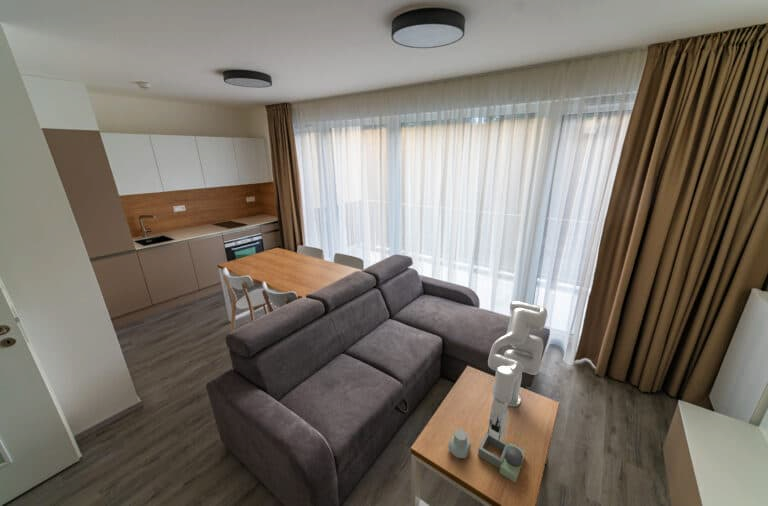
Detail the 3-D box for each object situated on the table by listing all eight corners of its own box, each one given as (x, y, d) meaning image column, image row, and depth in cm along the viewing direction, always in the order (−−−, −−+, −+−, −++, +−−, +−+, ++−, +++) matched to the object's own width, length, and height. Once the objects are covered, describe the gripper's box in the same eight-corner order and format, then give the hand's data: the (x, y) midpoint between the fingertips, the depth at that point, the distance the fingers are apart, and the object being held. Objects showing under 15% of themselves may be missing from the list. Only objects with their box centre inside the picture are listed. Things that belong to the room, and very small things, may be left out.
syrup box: (504, 434, 131) (509, 409, 126) (499, 442, 127) (503, 417, 122) (492, 426, 135) (496, 402, 130) (486, 434, 131) (490, 410, 126)
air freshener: (455, 436, 143) (457, 421, 140) (472, 446, 138) (473, 431, 135) (446, 454, 135) (447, 438, 131) (462, 465, 130) (464, 449, 127)
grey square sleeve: (487, 436, 143) (488, 425, 141) (524, 457, 133) (526, 446, 130) (476, 458, 133) (477, 447, 130) (515, 483, 122) (518, 471, 120)
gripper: (500, 377, 132) (495, 408, 137) (486, 401, 119) (482, 434, 125) (517, 385, 127) (511, 416, 133) (505, 411, 114) (499, 444, 120)
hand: (497, 424), depth 129 cm, fingers closed on syrup box, 6 cm apart
